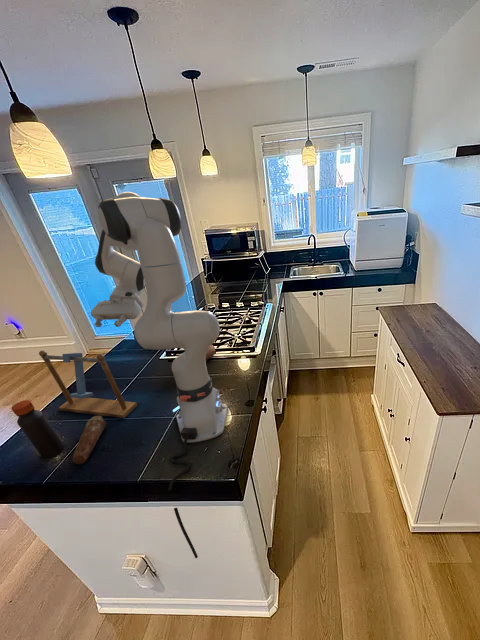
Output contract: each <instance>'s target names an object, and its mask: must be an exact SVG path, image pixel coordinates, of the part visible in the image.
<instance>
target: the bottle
mask: <svg viewBox="0 0 480 640" xmlns="http://www.w3.org/2000/svg"><path fill="white" fill-rule="evenodd" d="M10 410H11V411H12V412H13V414H14V415H15V416H16V417H18V419H17V420H16V423H17V425H18V426H19V428H20V429H21V431H22V432H23V433H24V435H25V437H27V439H28V440H29V442H30V443H31V444H32V446H33V447H34V448H35V450H36V451H37V453H39V455H40V456H41V458H43V459H51V458H55V457H57V456H58V455H60V454H61V453H62V452H63V451H64V449H65V444H64V443H63V441H62V440H61V438H60V437H59V435H58V434H57V432H56V431H55V430H54V428H53V426H52V425H51V424H50V422H49V421H48V419H47V418H46V416H45V415H44V413H43V411H42V410H38V409H35V406H34V405H33V403H32V401H31V400H29V399H23V400H20V401H18V402H16V403H14V404H13V405H12V406H11V408H10Z"/></svg>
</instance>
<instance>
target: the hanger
mask: <svg viewBox="0 0 480 640" xmlns="http://www.w3.org/2000/svg"><path fill="white" fill-rule="evenodd" d="M61 356H63V360H62V362H63V363H67V364H68V363H69V364H70V363H71V361H70V357H83V356H84V355H83V352H69V353H62V355H61ZM73 364H74V375H75V385H76V392H74V393H69V394H70V398H80V399H82V398H86V397H89V398H91V397H94V392H89V391H87V390H86V389H87V388H86V379H85V369H84V361H73Z"/></svg>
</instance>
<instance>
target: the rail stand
mask: <svg viewBox="0 0 480 640" xmlns="http://www.w3.org/2000/svg"><path fill="white" fill-rule="evenodd" d="M38 355H39V357H40V358H41V359H42V360H43V362H44V363H45V365H46V367H47V369H48V370H49V372H50V374H51V375H52V377H53V379H54V380H55V382H56V384H57V385H58V387H59V389H60V391H61V392H62V394H63V396H64V398H65V399H66V401H65V402H64V403H63V404H62V405H60V406H59V407H58V409H59V411H62V412H63V411H64V412H70V413H78V414H80V413H81V414H87V415H94V416H102V417H103V416H105V417H113V418H120V419H125V418H126V417H127V416H128V415H129V414H131V412H132V411H133V410H134V409H136V408H137V407H138V403H137V402H135V401H127V400H125V399H124V397H123V396H122V393H121V391H120V389H119V387H118V385H117V382H116V380H115V378H114V376H113V374H112V371H111V370H110V368H109V365H108V363H107V360H106V357H105V355H104V354H102V353H99V354H97V355H96V357H85V356H84V357H70V362H72V361H73V362H74V361H83V362H87V363H99V364H100V366H101V368H102V370H103V372H104V374H105V377H106V379H107V380H108V382H109V385H110V387H111V390H112V391H113V393H114V395H115V398H116V399H106V398H99V397H86V398H82V399H80V398H70V394H71V393H70V392H69V390H68V389H67V387H66V385H65V383H64V381H63V380H62V378H61V376H60V375H59V373H58V371H57V369H56V368H55V366H54V364H53V363H52V361H51V360H56V361H57V360H58V361H63V355H53V354H51V355H50V354H48V352H47V351H46V350H40V351H39V352H38Z"/></svg>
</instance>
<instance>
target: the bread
mask: <svg viewBox="0 0 480 640" xmlns="http://www.w3.org/2000/svg"><path fill="white" fill-rule="evenodd" d="M106 426H107V420H105V419H104V418H103V415H94V416H92V417H91V418H90V419H88V420H87V422H86V424H85V426H84V428H83V431H82V433H81V435H80V437H79V440H78V443H77V445H76V448H75V449H74V452H73V455H72V458H71V459H72V462H73V463H74V464H77V465H82V464H85V463H86V462H87V460H88V459H89V457H90V455H91V454H92V452H93V450H94V449H95V446H96V444H97V442H98V440H99V438H100V437H101V436H102V433H103V432H104V430H105V428H106Z"/></svg>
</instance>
